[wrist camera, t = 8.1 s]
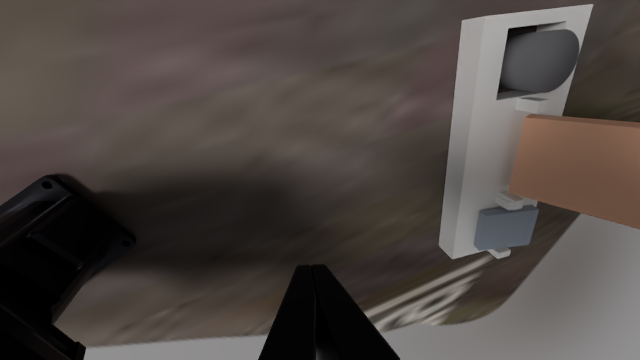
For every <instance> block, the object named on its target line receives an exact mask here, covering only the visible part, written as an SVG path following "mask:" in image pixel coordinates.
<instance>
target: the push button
mask: <svg viewBox="0 0 640 360" xmlns="http://www.w3.org/2000/svg"><path fill="white" fill-rule="evenodd" d="M579 48H580V47H579V40H578V38H577V36H576V34H575V33H574V32H572V31H571V30H568V29H560V30H550V31H539V32H529V33H518V34H514V35H511V36H509V37H508V38H507V40H506V45H505V51H504V57H503V63H502V69H501V75H500V81H499V86H498V87H500V88H505V89H514V90H522V91H531V92H539V93H547V92H551V91H553V90H555V89H557V88H558V87H560V86H561V85H562V84H563V83H564V82H565V81H566V80H567V79H568V77H569V76H570V75H571V73H572V71H573V70H574V68H575V65H576V63H577V60H578V56H579Z"/></svg>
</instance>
